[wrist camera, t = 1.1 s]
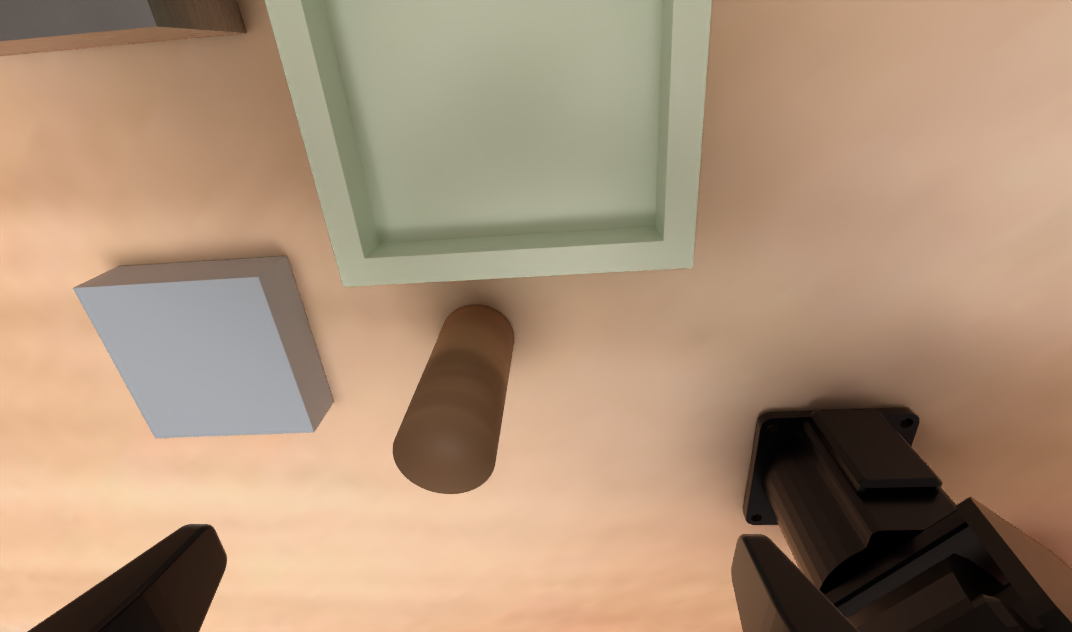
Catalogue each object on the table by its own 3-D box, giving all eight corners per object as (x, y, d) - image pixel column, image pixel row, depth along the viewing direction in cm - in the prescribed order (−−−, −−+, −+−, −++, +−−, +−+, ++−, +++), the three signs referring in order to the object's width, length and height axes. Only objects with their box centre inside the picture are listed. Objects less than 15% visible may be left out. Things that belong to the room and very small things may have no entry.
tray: (679, 245, 19) (692, 268, 17) (364, 263, 20) (343, 287, 18) (703, -189, 13) (728, -231, 11) (265, -138, 14) (218, -168, 12)
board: (337, 396, 23) (314, 432, 21) (192, 402, 24) (155, 438, 21) (291, 252, 20) (258, 277, 18) (125, 262, 20) (72, 288, 18)
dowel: (517, 366, 21) (500, 492, 15) (448, 368, 22) (403, 495, 15) (510, 302, 20) (489, 413, 14) (436, 306, 20) (382, 417, 14)
